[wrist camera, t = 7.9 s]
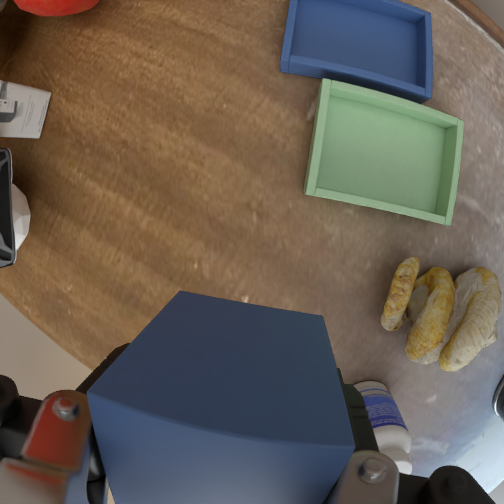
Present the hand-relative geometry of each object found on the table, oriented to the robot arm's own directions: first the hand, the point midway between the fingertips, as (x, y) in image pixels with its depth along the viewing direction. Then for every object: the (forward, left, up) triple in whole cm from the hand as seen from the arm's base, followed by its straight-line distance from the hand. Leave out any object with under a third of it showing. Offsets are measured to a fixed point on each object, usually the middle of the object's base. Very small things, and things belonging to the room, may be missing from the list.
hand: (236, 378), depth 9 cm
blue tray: (-5, -19, -15) cm, 24 cm away
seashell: (-16, +1, -15) cm, 22 cm away
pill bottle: (-12, +12, -15) cm, 23 cm away
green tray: (-8, -10, -15) cm, 19 cm away
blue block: (0, 0, -1) cm, 1 cm away
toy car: (+24, -2, -16) cm, 28 cm away
